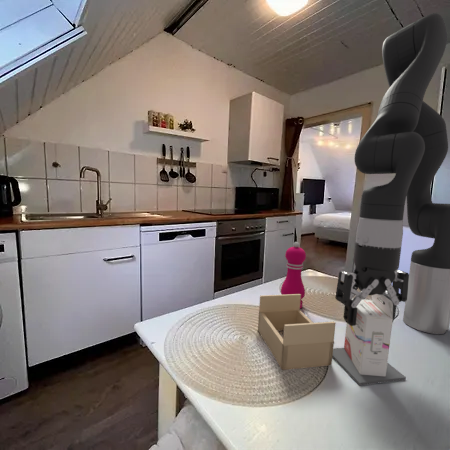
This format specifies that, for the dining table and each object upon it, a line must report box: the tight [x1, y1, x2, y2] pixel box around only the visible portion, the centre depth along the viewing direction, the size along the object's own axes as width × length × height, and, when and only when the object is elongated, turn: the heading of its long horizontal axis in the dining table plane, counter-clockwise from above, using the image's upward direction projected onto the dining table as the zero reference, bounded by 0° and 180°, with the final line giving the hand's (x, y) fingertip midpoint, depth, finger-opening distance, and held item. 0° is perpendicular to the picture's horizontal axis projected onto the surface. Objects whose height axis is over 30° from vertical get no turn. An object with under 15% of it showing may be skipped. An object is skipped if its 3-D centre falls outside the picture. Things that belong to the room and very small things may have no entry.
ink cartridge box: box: [343, 294, 394, 377], centre depth 50 cm, size 9×5×15 cm, turn 175°
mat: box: [332, 347, 407, 386], centre depth 51 cm, size 10×10×1 cm
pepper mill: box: [280, 241, 307, 310], centre depth 77 cm, size 7×7×20 cm
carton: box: [257, 294, 336, 371], centre depth 56 cm, size 11×15×9 cm
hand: (368, 322), depth 50 cm, fingers open, 8 cm apart
